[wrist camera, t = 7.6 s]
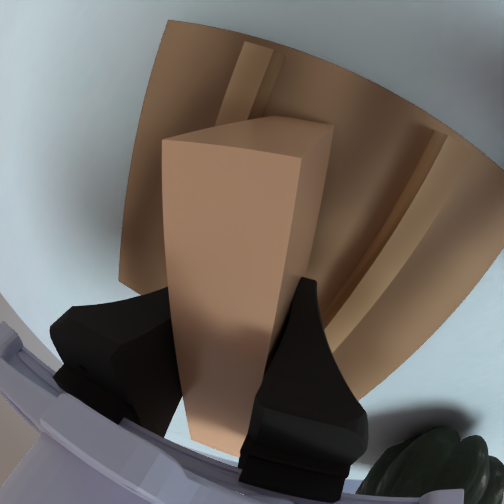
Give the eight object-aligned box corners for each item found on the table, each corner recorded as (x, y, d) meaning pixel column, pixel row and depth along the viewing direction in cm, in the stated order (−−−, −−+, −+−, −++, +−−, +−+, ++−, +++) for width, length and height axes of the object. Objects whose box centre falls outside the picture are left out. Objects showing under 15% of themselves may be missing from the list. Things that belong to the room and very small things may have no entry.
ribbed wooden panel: (524, 192, 10) (552, 213, 7) (357, 392, 20) (352, 424, 17) (178, 22, 12) (144, 13, 9) (126, 274, 22) (102, 295, 19)
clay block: (334, 125, 11) (301, 158, 4) (289, 339, 17) (244, 459, 10) (275, 115, 12) (161, 139, 5) (250, 328, 18) (191, 439, 11)
